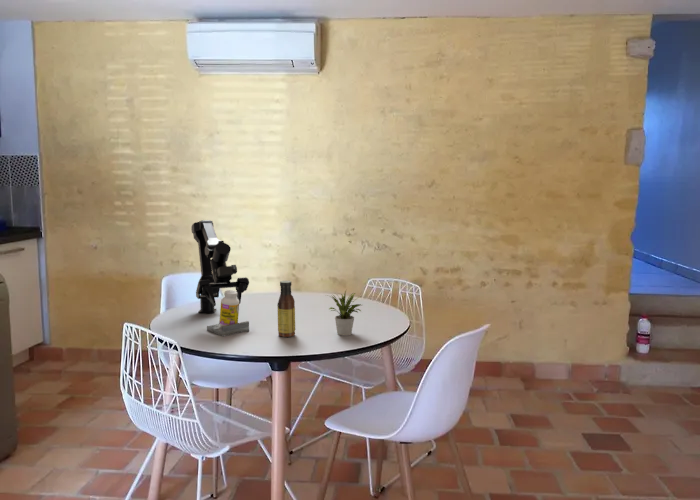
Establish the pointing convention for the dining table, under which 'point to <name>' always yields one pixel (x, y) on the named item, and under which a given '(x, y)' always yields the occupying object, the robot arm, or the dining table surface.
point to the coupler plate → (229, 328)
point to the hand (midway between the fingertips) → (227, 304)
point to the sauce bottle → (286, 311)
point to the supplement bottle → (229, 308)
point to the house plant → (345, 315)
